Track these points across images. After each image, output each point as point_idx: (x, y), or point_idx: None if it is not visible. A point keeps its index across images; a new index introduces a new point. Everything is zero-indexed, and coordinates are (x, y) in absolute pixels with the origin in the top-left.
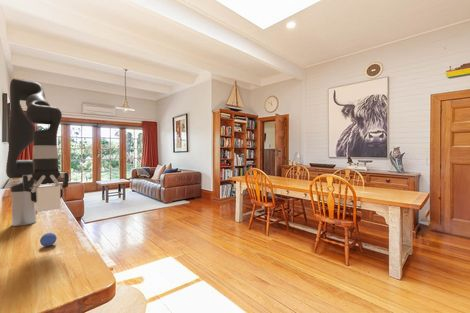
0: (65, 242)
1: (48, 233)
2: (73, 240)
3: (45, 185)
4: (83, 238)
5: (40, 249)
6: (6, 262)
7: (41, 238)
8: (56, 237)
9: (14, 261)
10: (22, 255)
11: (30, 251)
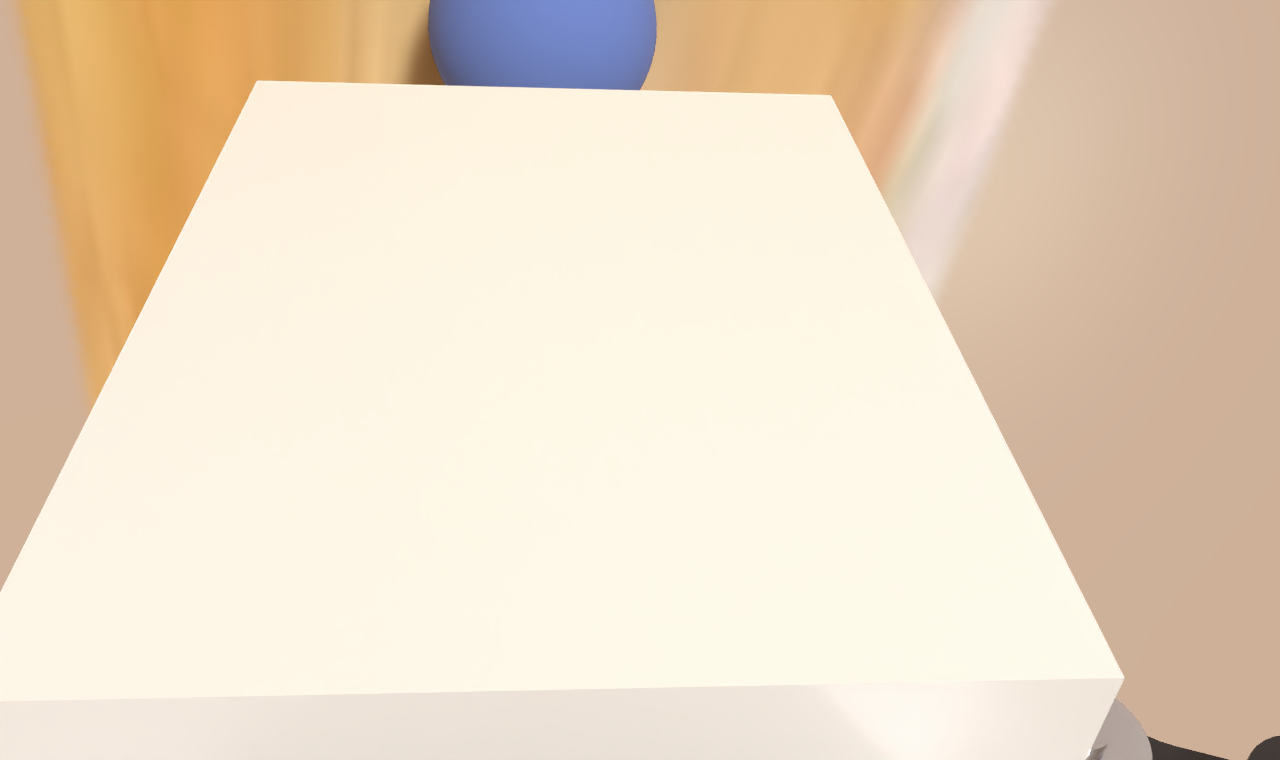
0: (755, 32)
1: (544, 84)
2: (862, 37)
3: (579, 717)
4: (986, 70)
5: (431, 52)
6: (73, 213)
7: (442, 64)
8: (650, 65)
9: (153, 253)
10: (224, 108)
11: (314, 22)
